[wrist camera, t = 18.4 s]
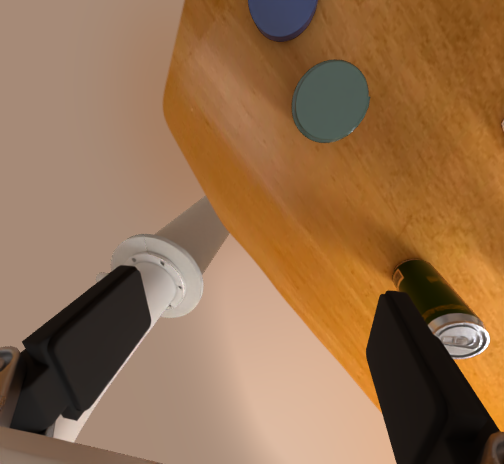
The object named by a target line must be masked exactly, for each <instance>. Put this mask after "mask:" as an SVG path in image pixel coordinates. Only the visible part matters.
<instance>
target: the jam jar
mask: <svg viewBox="0 0 504 464" xmlns="http://www.w3.org/2000/svg"><path fill="white" fill-rule="evenodd" d="M369 101H370V97H369V91H368V85H367V81H366V79H365V77H364V75H363V74H362V72H361V71H360V70H359V69H358V68H357V67H356V66H354V65H353V64H351V63H349V62H347V61H344V60H335V59H334V60H327V61H323V62H321V63H319V64H317V65H315V66H313V67H312V68H311V69H309V70H308V71H307V72H306V73H305V74H304V75H303V77H302V78H301V79H300V81H299V82H298V84H297V86H296V88H295V91H294V94H293V98H292V116H293V120H294V122H295V124H296V126H297V128H298V129H299V131H300V132H301V133H302V134H303V135H304V136H305V137H307V138H308V139H310V140H312V141H315V142H319V143H330V142H335V141H338V140H340V139H343V138H344V137H346V136H348V135H349V134H350V133H351V132H352V131H354V130H355V129H356V127H358V125H359V124H360V122H361V121H362V120H363V118H364V116H365V114H366V112H367V109H368V107H369Z"/></svg>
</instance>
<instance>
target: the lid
mask: <svg viewBox="0 0 504 464" xmlns="http://www.w3.org/2000/svg"><path fill="white" fill-rule="evenodd" d="M317 3H318V0H248V5H249V10H250V13H251V16H252V18H253V20H254V22H255V24H256V26H257V28H258V29H259V31H260V32H261V33H262V34H263V35H264V36H265V37H267V38H269V39H270V40H273V41H278V42H283V41H288V40H291V39H293V38H295V37H297V36H298V35H300V34H301V33H302V32H303V31H304V30H305V29H306V28H307V26H308V25H309V23H310V22H311V20H312V18H313V16H314V13H315V11H316V7H317Z"/></svg>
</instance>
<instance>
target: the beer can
mask: <svg viewBox="0 0 504 464" xmlns="http://www.w3.org/2000/svg"><path fill="white" fill-rule="evenodd" d="M392 278H393V282H394V284H395V286H396V288H397V290H398V291H399V292H406V293H407V294H408V295H409V297H410V298H411V300H412V301H413V303H414V305H415V306H416V308H417V309H418V311H419V312H420V314H421V316H422V317H423V319H424V320H425V322H426V323H427V325H428V327H429V328H430V330H431V331H432V333H433V334H434V335H435V336H437V337H438V338H439V339H440V340H441V341H442V343H443V344H444V346H445V347H446V349H447V351H448V352H449V354H450V355H451V357H452V358H453V359H466V358H470V357H474V356H476V355H478V354H480V353H481V352H483V351H484V350H485V349H486V348H487V346H488V345H489V342H490V336H489V334H488V332H487V331H486V328H485V326H484V324H483V322H482V321H481V320H480V319H479V318H478V317H477V315H476V314H475V313H474V312H473V311H472V310H471V309H470V308H469V306H468V305H467V304H466V303H465V302H464V301H463V300H462V298H461V297H460V296H459V295H458V294H457V293H456V292H455V291H454V289H453V288H452V287H451V286H450V285H449V284H448V283H447V282H446V280H445V279H444V278H443V277H442V276H441V275H440V274H439V273H438V271H437V270H436V269H435V268H434V267H433V266H432V265H431V264H430V263H428V262H426V261H423V260H419V259H409V260H405V261H403V262H401V263H400V264H398V265H397V266H396V268H395V269H394V272H393V275H392Z"/></svg>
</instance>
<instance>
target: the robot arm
mask: <svg viewBox="0 0 504 464" xmlns="http://www.w3.org/2000/svg"><path fill="white" fill-rule="evenodd" d="M96 281H97V283H96V284H95V285H94V286H92V287H91V288H90V289H89V290H87V291H86V292H85V293H83V294H82V295H81V296H80V297H78V298H77V299H76V300H75V301H73V302H72V303H71V304H70V305H68V306H67V307H66V308H64V309H63V310H62V311H61V312H59V313H58V314H57V315H55V316H54V317H53V318H52V319H50V320H49V321H48V322H46V323H45V324H44V325H43V326H41V327H40V328H39V329H38V330H36V331H35V332H34V333H32V334H31V335H30V336H29V337H27V338H26V339H25V340H23V341H22V343H23V345H24V346H25V348H26V349H25V350H23V351H22V352H21V353H20V352H19V350H18V349H17V348H15V347H11V346H10V347H1V348H0V464H162V463H158V462H154V461H150V460H146V459H141V458H137V457H132V456H129V455H125V454H121V453H116V452H112V451H108V450H103V449H99V448H95V447H91V446H86V445H82V444H78V443H74V441H75V439H76V437H77V436H78V434H79V432H80V430H81V429H82V427H83V425H84V424H85V422H86V420H87V419H88V417H89V415H90V414H91V412H92V411H93V409H94V408H95V406H96V405H97V403H98V402H99V400H100V399H101V397H102V396H103V394H104V393H105V391H106V390H107V388H108V387H109V386H110V384H111V383H112V381H113V380H114V379H115V377H116V376H117V374H118V373H119V372H120V370H121V369H122V368H123V366H124V365H125V364H126V362H127V361H128V360H129V358H130V357H131V355H132V354H133V353H134V351H135V350H136V349H137V347H138V346H139V344H140V343H141V342H142V340H143V339H144V338H145V336H146V335H147V334H148V332H149V331H150V330H151V328H152V327H153V325H154V324H155V323H156V321H157V320H158V319H159V317H160V316H161V315H162V313H163V312H164V310H168V309H172V308H174V307H176V306H178V305H179V304H180V303H181V301H182V300H183V298H184V296H185V294H186V282H185V279H184V276H183V274H182V273H181V271H180V270H179V268H178V267H177V266H176V265H175V264H174V263H173V262H172V261H170V260H169V259H168V258H166V257H164V256H162V255H160V254H157V253H153V252H139V253H136V254H134V255H132V256H131V257H129V258H128V259H127V260H126V261H125V263H124V265H120V266H118V267H117V268H115V269H114V270H113V271H112V272H110V273H102V272H101V273H99V274H98V275H97V277H96ZM366 357H367V361H368V365H369V368H370V372H371V375H372V379H373V382H374V386H375V389H376V393H377V396H378V400H379V403H380V407H381V410H382V414H383V417H384V421H385V424H386V428H387V431H388V435H389V438H390V442H391V445H392V449H393V452H394V456H395V460H396V463H397V464H504V432H500V430H499V429H498V427H497V426H496V424H495V423H494V421H493V420H492V418H491V417H490V415H489V413H488V412H487V410H486V409H485V407H484V406H483V404H482V403H481V401H480V400H479V398H478V397H477V395H476V394H475V392H474V390H473V389H472V387H471V386H470V384H469V383H468V381H467V380H466V378H465V377H464V375H463V374H462V372H461V370H460V369H459V367H458V366H457V364H456V363H455V361H454V360H453V358H452V357H451V355H450V354H449V352H448V351H447V349H446V347H445V346H444V344H443V343H442V341H441V340H440V339H439V338H438V337H437V336H435V335H434V334H433V333H432V331H431V330H430V328H429V327H428V325H427V323H426V322H425V320H424V319H423V317H422V316H421V314H420V312H419V311H418V309H417V308H416V306H415V305H414V303H413V301H412V300H411V298H410V297H409V295H408V294H407V293H406V292H399V291H386V293H385V294H381V295H380V297H379V301H378V305H377V309H376V313H375V316H374V320H373V324H372V328H371V332H370V336H369V340H368V344H367V348H366Z"/></svg>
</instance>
